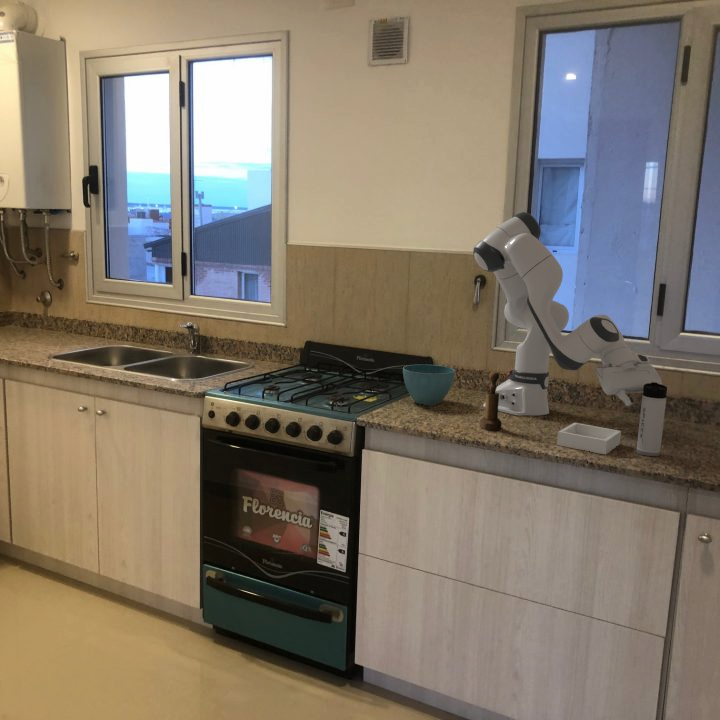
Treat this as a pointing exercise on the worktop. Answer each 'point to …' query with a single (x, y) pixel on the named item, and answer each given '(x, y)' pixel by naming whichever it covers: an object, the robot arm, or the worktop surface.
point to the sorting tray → (589, 438)
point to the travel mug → (651, 419)
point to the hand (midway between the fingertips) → (642, 404)
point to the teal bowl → (428, 382)
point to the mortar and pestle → (491, 406)
